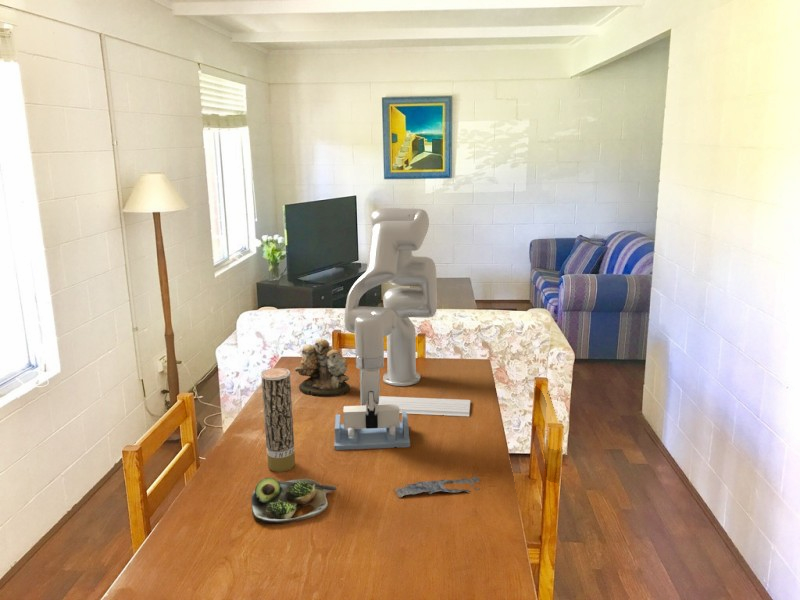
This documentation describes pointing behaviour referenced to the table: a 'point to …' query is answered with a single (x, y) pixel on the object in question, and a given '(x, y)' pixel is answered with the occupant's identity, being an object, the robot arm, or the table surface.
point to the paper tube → (278, 419)
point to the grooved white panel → (429, 406)
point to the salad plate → (287, 499)
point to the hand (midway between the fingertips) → (371, 423)
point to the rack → (371, 436)
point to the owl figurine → (323, 370)
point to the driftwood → (433, 486)
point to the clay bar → (357, 417)
